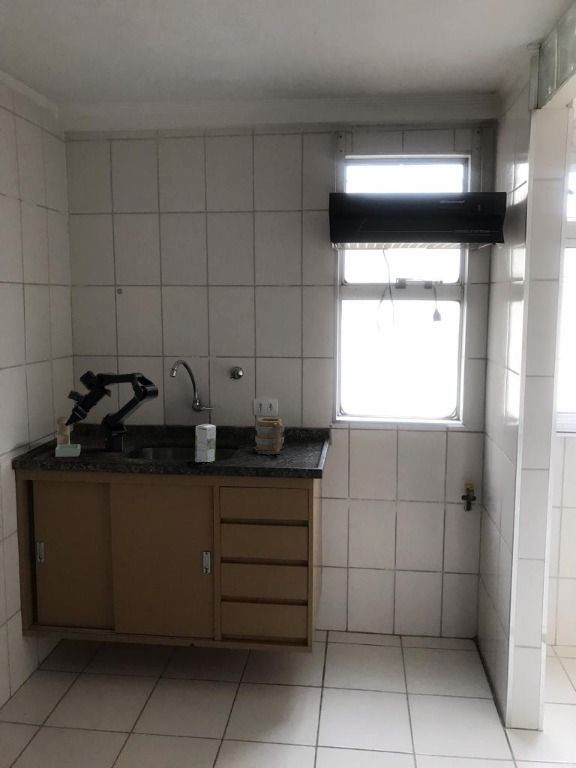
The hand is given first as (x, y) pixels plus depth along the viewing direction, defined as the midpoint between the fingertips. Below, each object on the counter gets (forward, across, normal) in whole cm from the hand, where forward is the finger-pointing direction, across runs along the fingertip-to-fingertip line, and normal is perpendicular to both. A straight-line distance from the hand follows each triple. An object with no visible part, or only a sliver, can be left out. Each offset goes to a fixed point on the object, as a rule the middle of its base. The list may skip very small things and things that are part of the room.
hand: (66, 423), depth 273 cm
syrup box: (-31, +33, +46) cm, 64 cm away
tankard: (-51, +22, +67) cm, 87 cm away
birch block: (+8, 0, +6) cm, 11 cm away
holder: (+6, +12, +8) cm, 16 cm away
